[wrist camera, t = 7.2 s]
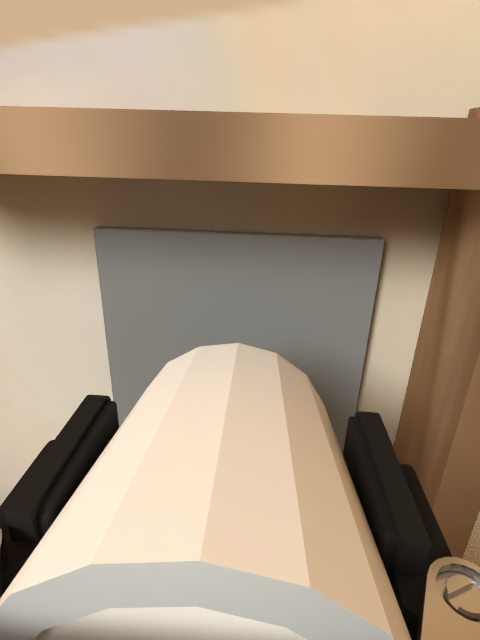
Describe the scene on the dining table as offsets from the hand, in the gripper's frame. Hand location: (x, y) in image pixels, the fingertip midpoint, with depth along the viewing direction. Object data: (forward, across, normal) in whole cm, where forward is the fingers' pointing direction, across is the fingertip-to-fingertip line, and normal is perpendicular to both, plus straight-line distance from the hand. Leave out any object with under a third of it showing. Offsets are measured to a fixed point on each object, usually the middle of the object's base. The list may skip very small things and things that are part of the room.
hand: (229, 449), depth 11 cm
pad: (+5, 0, 0) cm, 5 cm away
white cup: (+1, 0, 0) cm, 1 cm away
